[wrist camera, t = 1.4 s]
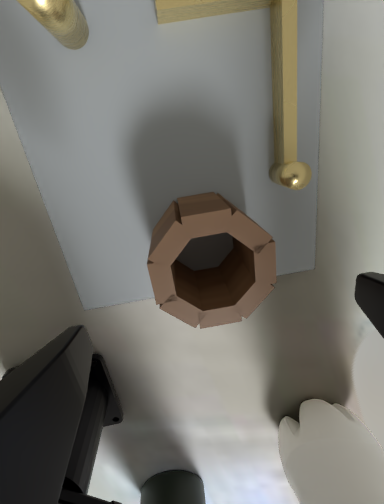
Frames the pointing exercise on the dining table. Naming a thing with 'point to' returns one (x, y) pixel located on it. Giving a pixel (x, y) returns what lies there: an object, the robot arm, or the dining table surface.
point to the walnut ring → (217, 278)
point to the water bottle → (331, 456)
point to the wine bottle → (173, 489)
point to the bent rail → (283, 73)
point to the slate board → (158, 133)
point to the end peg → (60, 20)
